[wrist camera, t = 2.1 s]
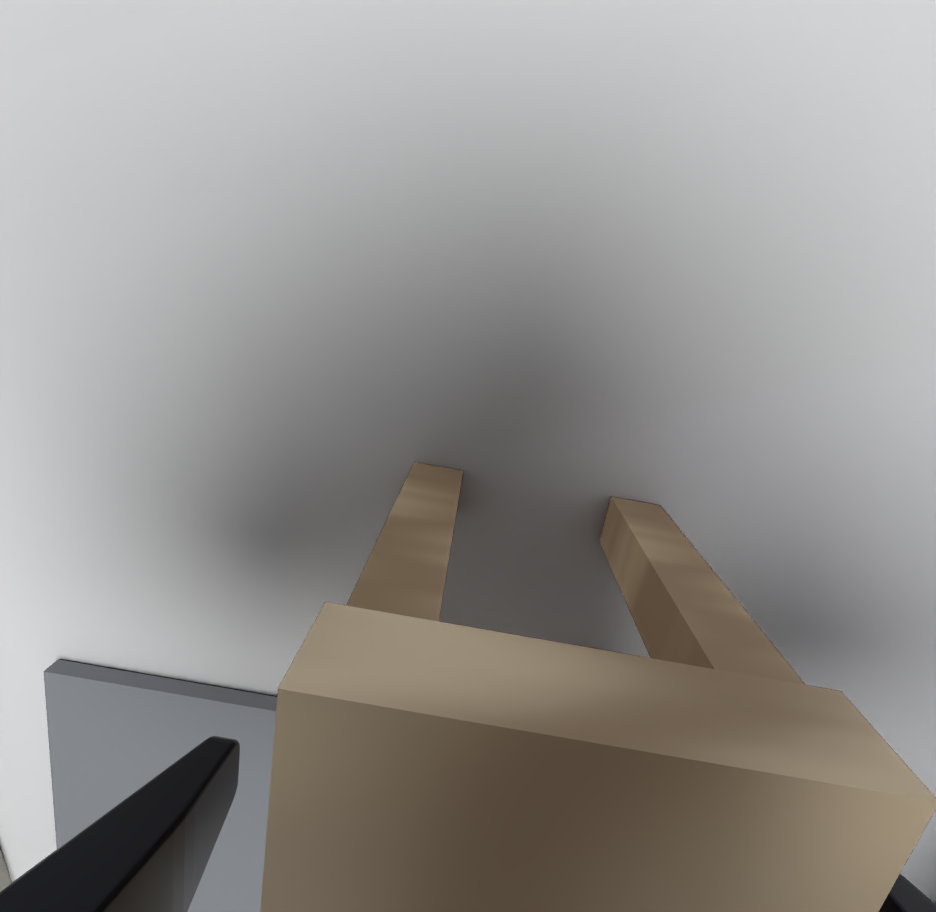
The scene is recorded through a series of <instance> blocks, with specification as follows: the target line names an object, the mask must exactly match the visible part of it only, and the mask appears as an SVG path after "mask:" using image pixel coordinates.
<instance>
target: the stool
mask: <svg viewBox="0 0 936 912" xmlns="http://www.w3.org/2000/svg"><path fill="white" fill-rule="evenodd" d="M462 476H463V471H462V470H456V469H451V468H445V467H439V466H433V465H428V464H422V463H416V462H414V463H413V465H412V467H411V469H410V472H409V474H408V476H407V478H406V480H405V482H404V484H403V486H402V489H401V491H400V493H399V495H398V497H397V499H396V501H395V503H394V505H393V508H392V510H391V512H390V514H389V516H388V518H387V520H386V522H385V525H384V527H383V529H382V531H381V533H380V535H379V537H378V539H377V541H376V544H375V546H374V548H373V550H372V552H371V554H370V556H369V558H368V560H367V563H366V565H365V567H364V569H363V571H362V573H361V575H360V577H359V580H358V582H357V584H356V586H355V588H354V590H353V592H352V594H351V596H350V599H349V601H348V603H347V605H340V604H334V603H329V602H325V603H324V605H323V607H322V609H321V611H320V613H319V614H318V616H317V618H316V620H315V622H314V624H313V625H312V627H311V629H310V631H309V633H308V635H307V636H306V638H305V640H304V642H303V644H302V645H301V647H300V649H299V651H298V653H297V655H296V656H295V658H294V660H293V662H292V664H291V666H290V667H289V669H288V671H287V673H286V675H285V677H284V678H283V680H282V682H281V684H280V686H279V688H278V694H277V707H276V719H275V732H274V745H273V757H272V770H271V782H270V795H269V808H268V820H267V833H266V845H265V858H264V871H263V883H262V896H261V908H260V912H879V910H880V908H881V906H882V905H883V903H884V901H885V899H886V898H887V896H888V894H889V892H890V890H891V889H892V887H893V885H894V883H895V881H896V880H897V878H898V876H899V874H900V872H901V871H902V869H903V867H904V865H905V863H906V862H907V860H908V858H909V856H910V854H911V853H912V851H913V849H914V847H915V846H916V844H917V842H918V840H919V838H920V837H921V835H922V833H923V831H924V829H925V828H926V826H927V824H928V822H929V820H930V819H931V817H932V815H933V813H934V811H935V810H936V797H935V796H934V795H933V794H932V793H931V792H930V791H929V789H928V788H927V787H926V786H925V785H924V784H923V783H922V782H921V780H920V779H919V778H918V777H917V776H916V775H915V774H914V773H913V771H912V770H911V769H910V768H909V767H908V766H907V765H906V764H905V762H904V761H903V760H902V759H901V758H900V757H899V756H898V755H897V753H896V752H895V751H894V750H893V749H892V748H891V747H890V746H889V744H888V743H887V742H886V741H885V740H884V739H883V738H882V737H881V735H880V734H879V733H878V732H877V731H876V730H875V729H874V727H873V726H872V725H871V724H870V723H869V722H868V721H867V720H866V718H865V717H864V716H863V715H862V714H861V713H860V712H859V711H858V709H857V708H856V707H855V706H854V705H853V704H852V703H851V702H850V700H849V699H848V698H847V697H846V696H845V695H844V694H843V693H842V691H838V690H832V689H826V688H820V687H814V686H809V685H806V684H805V683H804V682H803V681H802V679H801V678H800V677H799V676H798V675H797V673H796V672H795V671H794V670H793V668H792V667H791V666H790V665H789V663H788V662H787V661H786V660H785V659H784V657H783V656H782V655H781V654H780V652H779V651H778V650H777V649H776V647H775V646H774V645H773V644H772V642H771V641H770V640H769V639H768V638H767V636H766V635H765V634H764V633H763V631H762V630H761V629H760V628H759V626H758V625H757V624H756V623H755V621H754V620H753V619H752V618H751V617H750V615H749V614H748V613H747V612H746V610H745V609H744V608H743V607H742V605H741V604H740V603H739V602H738V600H737V599H736V598H735V597H734V596H733V594H732V593H731V592H730V591H729V589H728V588H727V587H726V586H725V584H724V583H723V582H722V581H721V580H720V578H719V577H718V576H717V575H716V573H715V572H714V571H713V570H712V568H711V567H710V566H709V565H708V563H707V562H706V561H705V560H704V559H703V557H702V556H701V555H700V554H699V552H698V551H697V550H696V549H695V547H694V546H693V545H692V544H691V542H690V541H689V540H688V539H687V538H686V536H685V535H684V534H683V533H682V531H681V530H680V529H679V528H678V526H677V525H676V524H675V523H674V521H673V520H672V519H671V518H670V517H669V515H668V514H667V513H666V512H665V510H664V509H663V508H662V507H661V505H656V504H650V503H645V502H639V501H633V500H628V499H622V498H616V497H611V499H610V503H609V507H608V511H607V514H606V518H605V522H604V526H603V529H602V533H601V537H600V541H599V542H600V544H601V547H602V549H603V551H604V553H605V556H606V558H607V560H608V562H609V565H610V567H611V569H612V572H613V574H614V576H615V578H616V581H617V583H618V585H619V587H620V590H621V592H622V594H623V597H624V599H625V601H626V603H627V606H628V608H629V610H630V612H631V615H632V617H633V619H634V622H635V624H636V626H637V628H638V631H639V633H640V635H641V637H642V640H643V642H644V644H645V647H646V649H647V651H648V653H649V656H650V658H647V657H641V656H635V655H629V654H624V653H618V652H612V651H606V650H600V649H595V648H589V647H583V646H577V645H572V644H566V643H560V642H554V641H548V640H543V639H537V638H531V637H525V636H519V635H514V634H508V633H502V632H496V631H491V630H485V629H479V628H473V627H467V626H462V625H456V624H450V623H444V622H439V616H440V610H441V604H442V598H443V592H444V586H445V580H446V574H447V568H448V561H449V555H450V549H451V543H452V537H453V531H454V525H455V519H456V513H457V507H458V501H459V494H460V488H461V482H462Z"/></svg>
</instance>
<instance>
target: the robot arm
mask: <svg viewBox="0 0 936 912" xmlns="http://www.w3.org/2000/svg"><path fill="white" fill-rule="evenodd" d="M239 758H240V744H239V741H238V740H236V739H233V738H227V737H221V736H211V737H209V738H207V739H205V740H204V741H203V742H201V743H200V744H199V745H197V746H196V747H195V748H193V749H192V750H191V751H189V752H188V753H187V754H185V755H184V756H183V757H181V758H180V759H178V760H177V761H176V762H174V763H173V764H172V765H170V766H169V767H168V768H166V769H165V770H164V771H162V772H161V773H160V774H158V775H157V776H156V777H154V778H153V779H151V780H150V781H149V782H147V783H146V784H145V785H143V786H142V787H141V788H139V789H138V790H137V791H135V792H134V793H133V794H131V795H130V796H128V797H127V798H126V799H124V800H123V801H122V802H120V803H119V804H118V805H116V806H115V807H114V808H112V809H111V810H110V811H108V812H107V813H106V814H104V815H103V816H101V817H100V818H99V819H97V820H96V821H95V822H93V823H92V824H91V825H89V826H88V827H87V828H85V829H84V830H83V831H81V832H80V833H79V834H77V835H76V836H74V837H73V838H72V839H70V840H69V841H68V842H66V843H65V844H64V845H62V846H61V847H60V848H58V849H57V850H56V851H54V852H53V853H52V854H50V855H49V856H47V857H46V858H45V859H43V860H42V861H41V862H39V863H38V864H37V865H35V866H34V867H33V868H31V869H30V870H29V871H27V872H26V873H24V874H23V875H22V876H20V877H19V878H18V879H16V880H15V881H14V882H12V883H11V884H10V885H8V886H7V887H6V888H4V889H3V890H2V891H0V912H187V911H188V909H189V907H190V904H191V902H192V900H193V897H194V895H195V892H196V890H197V887H198V885H199V883H200V880H201V878H202V875H203V873H204V870H205V868H206V866H207V863H208V861H209V858H210V856H211V853H212V851H213V848H214V846H215V844H216V841H217V839H218V836H219V834H220V831H221V829H222V827H223V824H224V822H225V819H226V817H227V814H228V812H229V809H230V807H231V805H232V802H233V800H234V797H235V794H236V790H237V786H238V776H239ZM879 912H936V904H935V903H933V902H932V901H931V900H930V899H929V898H928V897H927V896H925V895H924V894H923V893H922V892H921V891H920V890H918V889H917V888H916V887H915V886H914V885H913V884H912V883H910V882H909V881H908V880H907V879H906V878H905V877H903V876H902V875H901V874H899V876H898V878H897V880H896V881H895V883H894V885H893V887H892V889H891V890H890V892H889V894H888V896H887V898H886V899H885V901H884V903H883V905H882V906H881V908H880V910H879Z"/></svg>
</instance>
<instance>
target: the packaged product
mask: <svg viewBox="0 0 936 912" xmlns="http://www.w3.org/2000/svg"><path fill="white" fill-rule="evenodd" d="M11 883H12V882H11V878H10V875H9V872H8V869H7V866H6V863H5V861H4V858H3V855H2V853H1V850H0V891H2V890H3V889H4V888H6V887H7V886H8V885H10V884H11Z"/></svg>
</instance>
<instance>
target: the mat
mask: <svg viewBox="0 0 936 912" xmlns="http://www.w3.org/2000/svg"><path fill="white" fill-rule="evenodd" d="M44 682H45V696H46V709H47V722H48V736H49V749H50V763H51V776H52V790H53V803H54V817H55V830H56V843H57V849H58V848H60V847H61V846H62V845H64V844H65V843H66V842H68V841H69V840H70V839H72V838H73V837H74V836H76V835H77V834H79V833H80V832H81V831H83V830H84V829H85V828H87V827H88V826H89V825H91V824H92V823H93V822H95V821H96V820H97V819H99V818H100V817H101V816H103V815H104V814H106V813H107V812H108V811H110V810H111V809H112V808H114V807H115V806H116V805H118V804H119V803H120V802H122V801H123V800H124V799H126V798H127V797H128V796H130V795H131V794H133V793H134V792H135V791H137V790H138V789H139V788H141V787H142V786H143V785H145V784H146V783H147V782H149V781H150V780H151V779H153V778H154V777H156V776H157V775H158V774H160V773H161V772H162V771H164V770H165V769H166V768H168V767H169V766H170V765H172V764H173V763H174V762H176V761H177V760H178V759H180V758H181V757H183V756H184V755H185V754H187V753H188V752H189V751H191V750H192V749H193V748H195V747H196V746H197V745H199V744H200V743H201V742H203V741H204V740H205V739H207V738H209V737H211V736H221V737H227V738H233V739H236V740H238V741H239V744H240V758H239V776H238V786H237V790H236V794H235V797H234V800H233V802H232V805H231V807H230V809H229V812H228V814H227V817H226V819H225V822H224V824H223V827H222V829H221V831H220V834H219V836H218V839H217V841H216V844H215V846H214V848H213V851H212V853H211V856H210V858H209V861H208V863H207V866H206V868H205V870H204V873H203V875H202V878H201V880H200V883H199V885H198V887H197V890H196V892H195V895H194V897H193V900H192V902H191V904H190V907H189V909H188V911H187V912H260V908H261V896H262V883H263V871H264V858H265V845H266V833H267V820H268V808H269V795H270V782H271V770H272V757H273V745H274V732H275V719H276V707H277V697H274V696H268V695H263V694H257V693H251V692H245V691H239V690H233V689H228V688H222V687H216V686H210V685H204V684H198V683H193V682H187V681H181V680H175V679H169V678H163V677H158V676H152V675H146V674H140V673H134V672H128V671H123V670H117V669H111V668H105V667H99V666H93V665H88V664H82V663H76V662H70V661H64V660H57V661H56V662H55V663H53V664H52V665H51V666H50V667H49V668H47V669H46V670H45V671H44Z"/></svg>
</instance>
